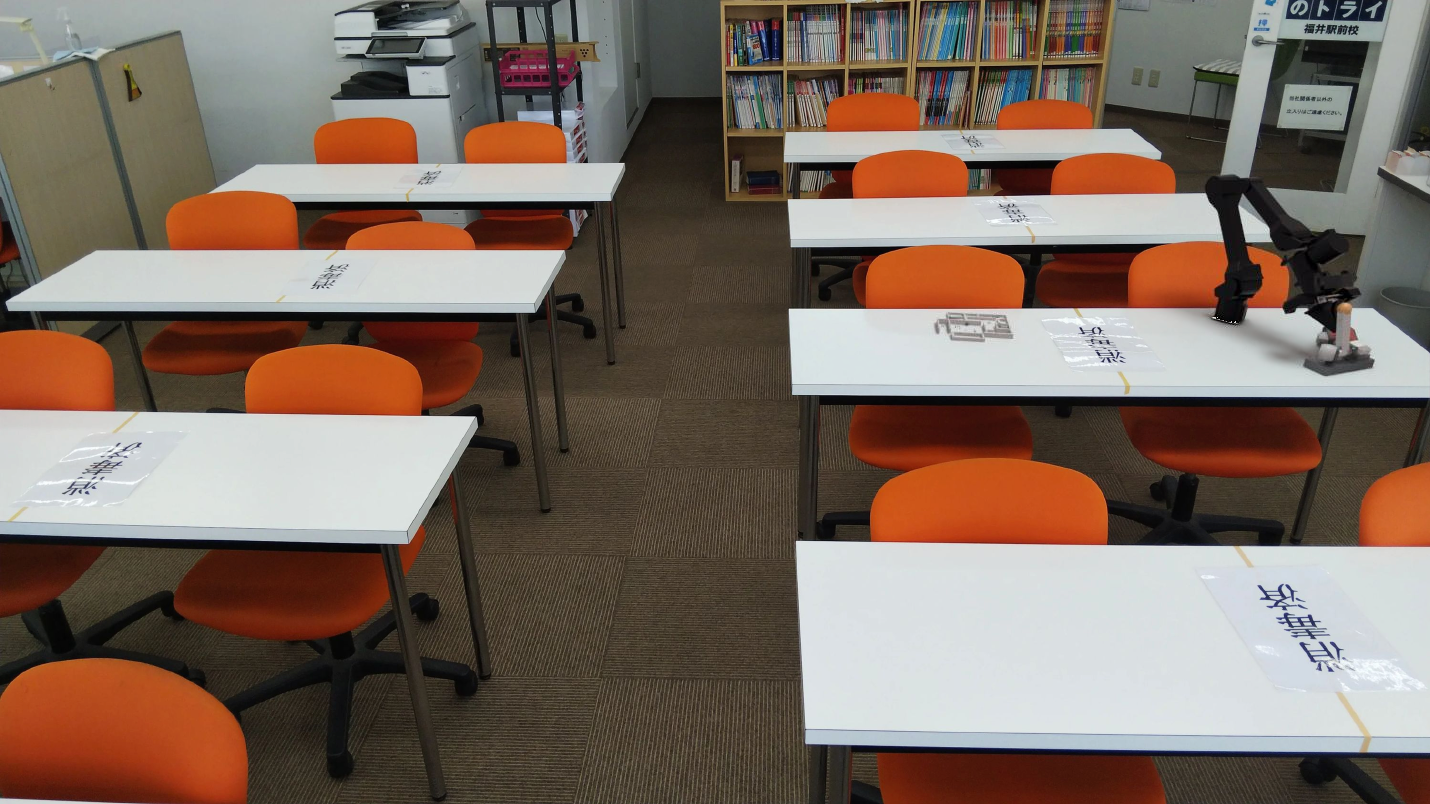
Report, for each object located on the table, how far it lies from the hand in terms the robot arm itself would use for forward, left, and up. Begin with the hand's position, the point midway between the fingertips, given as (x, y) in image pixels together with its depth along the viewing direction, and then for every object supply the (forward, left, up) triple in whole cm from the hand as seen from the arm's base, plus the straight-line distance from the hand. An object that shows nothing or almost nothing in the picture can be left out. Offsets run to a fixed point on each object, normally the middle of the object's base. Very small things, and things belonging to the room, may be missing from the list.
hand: (1336, 332), depth 225 cm
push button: (+1, -6, -6) cm, 8 cm away
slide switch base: (+3, -1, -8) cm, 8 cm away
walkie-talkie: (-2, +13, -8) cm, 16 cm away
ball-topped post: (+3, -1, -4) cm, 5 cm away
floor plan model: (-69, -44, -8) cm, 83 cm away
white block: (+5, +3, -3) cm, 7 cm away
